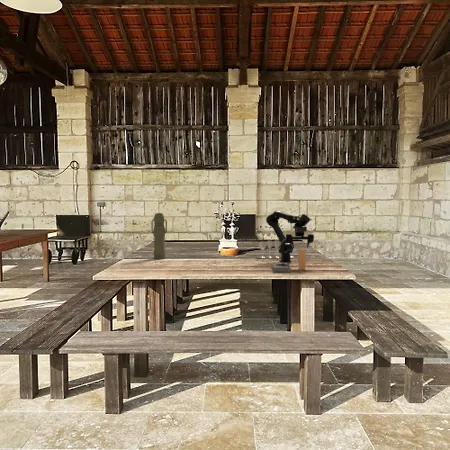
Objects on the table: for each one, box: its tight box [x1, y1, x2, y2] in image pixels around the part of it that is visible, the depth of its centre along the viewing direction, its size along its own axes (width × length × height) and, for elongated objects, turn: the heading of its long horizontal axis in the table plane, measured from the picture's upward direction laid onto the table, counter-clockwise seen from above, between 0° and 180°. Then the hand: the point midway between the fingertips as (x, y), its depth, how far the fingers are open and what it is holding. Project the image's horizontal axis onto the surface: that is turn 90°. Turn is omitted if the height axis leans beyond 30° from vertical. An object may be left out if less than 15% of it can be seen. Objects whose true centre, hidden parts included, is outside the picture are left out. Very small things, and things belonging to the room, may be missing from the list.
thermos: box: [150, 212, 168, 260], centre depth 309 cm, size 9×12×35 cm
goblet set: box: [258, 239, 295, 259], centre depth 314 cm, size 28×6×13 cm, turn 92°
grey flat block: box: [271, 261, 291, 273], centre depth 259 cm, size 20×10×3 cm, turn 176°
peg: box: [297, 248, 307, 271], centre depth 261 cm, size 4×4×13 cm
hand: (300, 247), depth 267 cm, fingers open, 9 cm apart
